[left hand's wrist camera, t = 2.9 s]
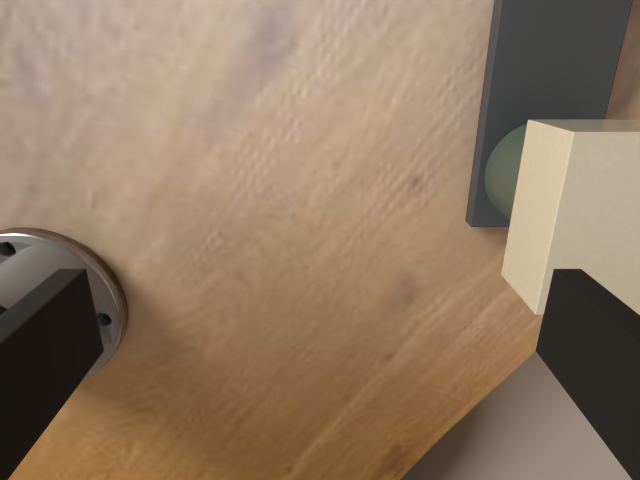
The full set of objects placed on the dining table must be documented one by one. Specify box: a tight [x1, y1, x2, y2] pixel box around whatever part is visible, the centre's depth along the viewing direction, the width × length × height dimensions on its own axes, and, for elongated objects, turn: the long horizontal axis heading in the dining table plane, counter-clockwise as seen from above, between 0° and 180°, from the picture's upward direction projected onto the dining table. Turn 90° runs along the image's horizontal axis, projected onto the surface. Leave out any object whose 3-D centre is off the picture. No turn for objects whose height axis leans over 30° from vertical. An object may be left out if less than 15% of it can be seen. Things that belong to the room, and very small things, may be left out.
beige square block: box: [501, 120, 640, 315], centre depth 25 cm, size 10×10×5 cm
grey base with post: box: [466, 0, 633, 227], centre depth 27 cm, size 29×9×12 cm, turn 0°
